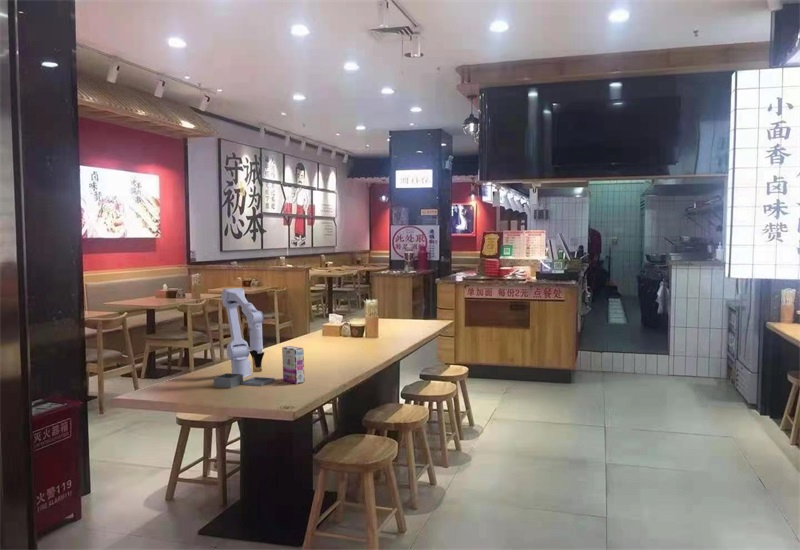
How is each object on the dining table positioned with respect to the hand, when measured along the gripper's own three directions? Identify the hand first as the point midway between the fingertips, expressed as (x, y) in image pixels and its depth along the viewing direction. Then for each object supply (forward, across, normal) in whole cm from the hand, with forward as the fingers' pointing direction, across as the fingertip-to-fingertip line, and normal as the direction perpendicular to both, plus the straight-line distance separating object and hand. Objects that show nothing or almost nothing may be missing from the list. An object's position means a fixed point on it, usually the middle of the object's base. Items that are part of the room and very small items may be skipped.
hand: (257, 366), depth 286 cm
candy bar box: (+8, +5, +16) cm, 19 cm away
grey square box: (+8, -2, -13) cm, 16 cm away
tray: (+8, 0, 0) cm, 8 cm away
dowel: (+2, 0, 0) cm, 2 cm away
